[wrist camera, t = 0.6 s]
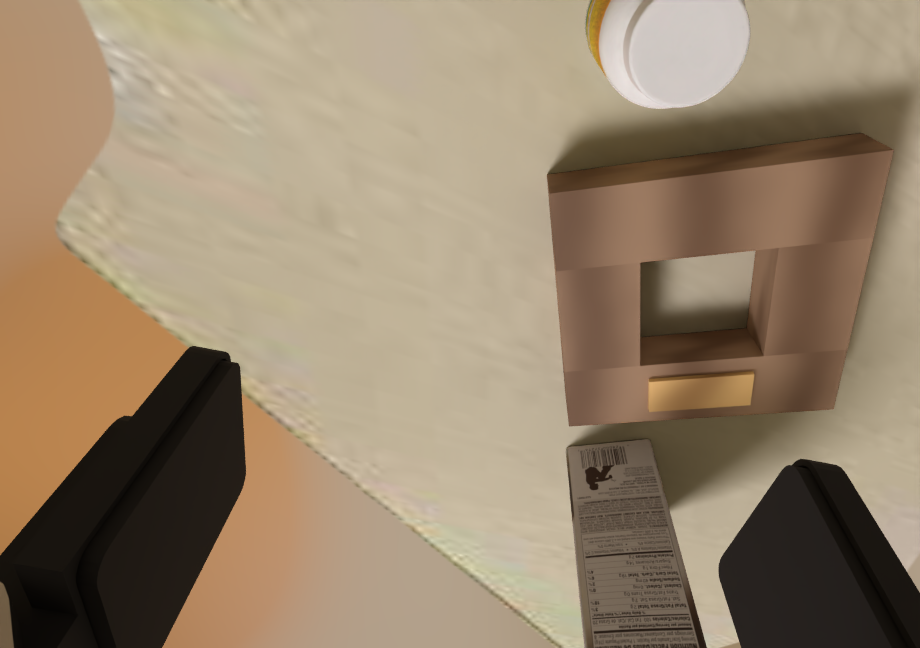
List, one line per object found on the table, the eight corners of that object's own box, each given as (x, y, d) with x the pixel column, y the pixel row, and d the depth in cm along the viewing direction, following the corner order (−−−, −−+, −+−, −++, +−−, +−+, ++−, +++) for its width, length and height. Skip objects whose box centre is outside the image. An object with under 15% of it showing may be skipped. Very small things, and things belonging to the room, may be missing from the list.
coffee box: (658, 518, 47) (717, 751, 33) (577, 524, 48) (602, 751, 34) (652, 435, 42) (717, 667, 28) (562, 445, 43) (584, 672, 30)
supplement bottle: (697, -65, 26) (778, -71, 18) (701, 62, 29) (774, 107, 20) (575, -29, 27) (600, -20, 19) (590, 89, 30) (618, 142, 22)
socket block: (861, 132, 30) (897, 151, 27) (812, 378, 38) (835, 412, 35) (546, 174, 32) (549, 195, 29) (565, 396, 41) (569, 429, 38)
